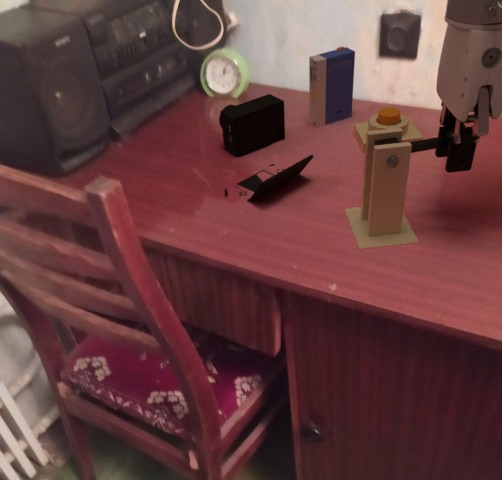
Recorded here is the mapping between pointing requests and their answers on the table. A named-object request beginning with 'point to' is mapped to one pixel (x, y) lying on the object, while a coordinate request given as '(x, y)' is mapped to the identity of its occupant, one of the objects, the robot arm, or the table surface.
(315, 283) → the table surface
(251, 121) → the digital camera
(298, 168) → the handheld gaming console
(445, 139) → the switch lever
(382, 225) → the switch bracket
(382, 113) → the button
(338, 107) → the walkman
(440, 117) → the robot arm
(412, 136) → the button block
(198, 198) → the table surface
